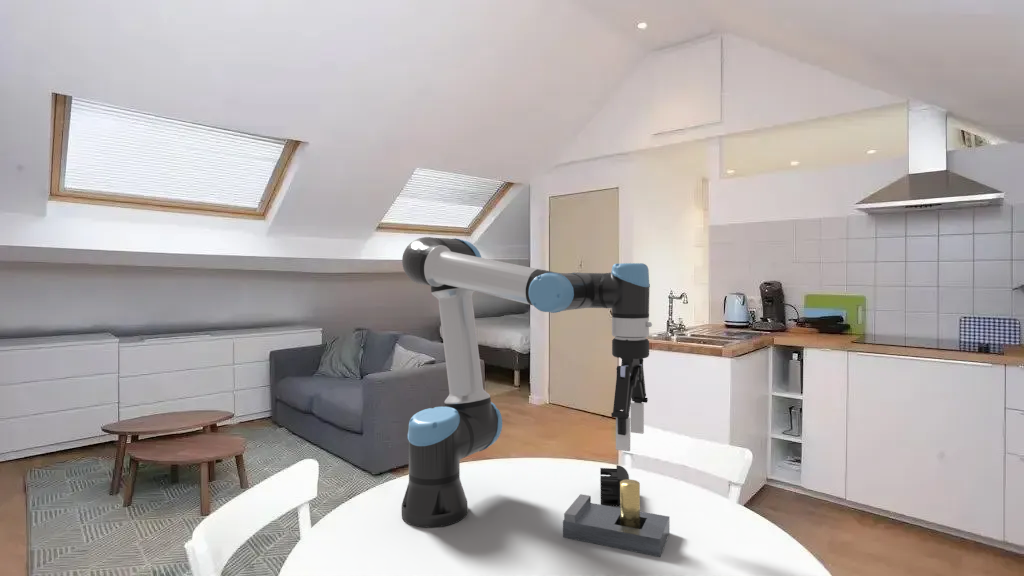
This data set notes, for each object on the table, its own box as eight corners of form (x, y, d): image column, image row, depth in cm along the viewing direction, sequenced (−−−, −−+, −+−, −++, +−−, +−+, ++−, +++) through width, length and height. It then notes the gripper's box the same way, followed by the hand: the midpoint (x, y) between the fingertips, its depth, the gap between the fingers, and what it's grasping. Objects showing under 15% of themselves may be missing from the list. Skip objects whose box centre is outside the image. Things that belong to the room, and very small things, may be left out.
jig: (563, 537, 116) (562, 513, 116) (579, 516, 126) (579, 493, 126) (660, 557, 107) (660, 531, 107) (669, 532, 117) (669, 509, 117)
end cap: (631, 508, 130) (631, 479, 130) (600, 506, 131) (600, 478, 131) (628, 491, 140) (628, 465, 140) (600, 490, 141) (600, 464, 141)
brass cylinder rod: (618, 532, 114) (618, 485, 114) (623, 524, 118) (622, 478, 118) (638, 536, 113) (637, 487, 113) (641, 528, 116) (641, 480, 116)
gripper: (635, 345, 102) (635, 461, 102) (659, 332, 124) (659, 427, 124) (596, 343, 105) (596, 456, 105) (626, 331, 127) (626, 424, 128)
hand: (630, 441), depth 115 cm, fingers open, 12 cm apart
